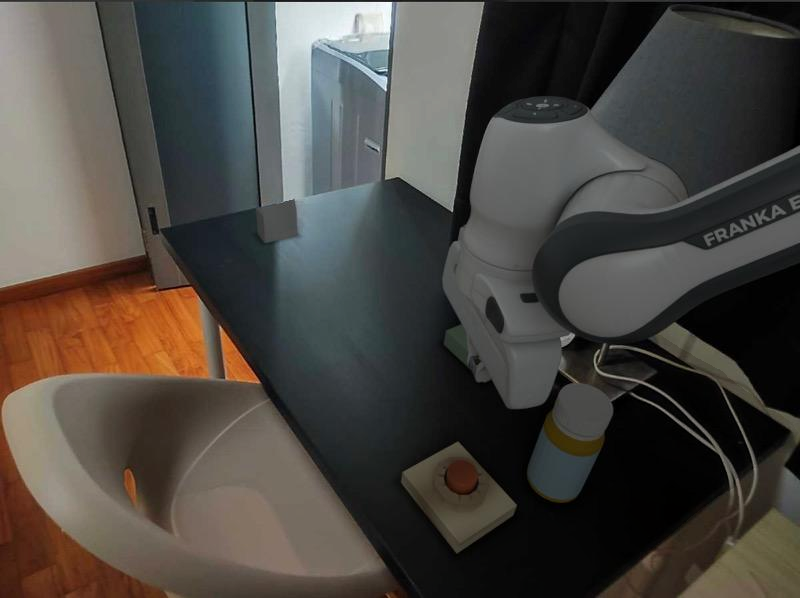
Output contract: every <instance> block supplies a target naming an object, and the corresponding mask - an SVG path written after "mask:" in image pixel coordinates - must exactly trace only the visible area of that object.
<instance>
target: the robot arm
mask: <svg viewBox="0 0 800 598" xmlns="http://www.w3.org/2000/svg"><path fill="white" fill-rule="evenodd" d="M469 191H470V192H469V203H470V215H469V218H468V220H467V223H466V224H464V225H463V226H461V227H460V228H459V233H458V238H457V240H455V241H453V242H452V243H451V245H450V247H449V250H448V251H447V256H446V259H445V264H444V268H443V272H442V279H441V280H442V282H441V283H442V289H443V292H444V294H445V296H446V297H447V300H448V302H449V303H450V305H451V307H452V309H453V311H454V312H455V314H456V316H457V318H458V320H459V321H460V324H462V325H463V327H464V329H465V331H466V333H467V344H468V352H469V354H468V358H467V364H468V366H469V368H470V369H471V370H470V369H469V368H468V369H469V370H470V371H471V373H472V375H473V378H474V380H475V381H476V382H477V383H484V382H485V381H487V382H489V381H492V383H493V385H494V386H495V389H496V391H497V392H498V394H499V396H500V398H501V399H502V401H503V403H504V405H505V407H506V408H507V409H508V410H522V409H529V408H535V407H538V406H541V405H543V404H544V403H546V401H547V400H548V398H549V397H550V395H551V392H552V389H553V386H554V384H555V381H556V378H557V375H558V372H559V368H560V365H561V361H562V354H563V345H562V344H563V343H562V340H561V338H563V337H564V338H565V337H568V336H570V335H571V334H573V335H575V336H577V337H579V338H581V339H584V340H587V341H590V342H594V343H598V344H607V345H626V344H634V343H638V342H643V341H644V340H645V341H646V340H648V339H650V338H652V337H654V336H656V335H658V334H660V333H661V332H663V331H664V330H666V329H667V328H669V327H670V326H672V325H673V324H674V323H675V322H677V321H678V320H680V319H681V318H682V317H683V316H685V315H686V314H688V312H690V311H691V310H693V309H694V308H696V307H697V306H699V305H701V304H702V303H704V302H706V301H708V300H710V299H712V298H714V297H717V296H718V295H720V294H723V293H725V292H728V291H730V290H733V289H735V288H738V287H740V286H743V285H746V284H748V283H750V282H753V281H756V280H759V279H761V278H764V277H766V276H769V275H772V274H775V273H777V272H780V271H782V270H785V269H787V268H790V267H792V266H795V265H799V264H800V145H798V146H796V147H794V148H792V149H790V150H788V151H786V152H784V153H782V154H779V155H777V156H776V157H773V158H771V159H769V160H767V161H765V162H763V163H761V164H760V163H759V164H758V165H756V166H754V167H752V168H750V169H748V170H745V171H743V172H741V173H739V174H737V175H735V176H733V177H731V178H728V179H727V180H724V181H722V182H720V183H717V184H716V185H713V186H711V187H708V188H707V189H705V190H702V191H701V192H699V193H696V194H694V195H692V196H690V195H689V191H688V188H687V186H686V184H685V182H684V181H683V179H682V178H681V177H680V175H679V174H678V173H677V172H676V170H675V169H673V168H672V167H671V166H669V165H668V164H667V163H664V162H663V161H661V160H659V159H657V158H653V157H650V156H646V155H644V154H642V153H640V152H638V151H636V150H635V149H633V148H631V147H630V146H628V145H627V144H624V143H623V142H622V141H620V140H619V139H617V138H616V137H615V136H614V135H612V134H611V133H610V132H609V131H608V130H607V129H606V128H604V127H603V126H602V124H601V123H600V122H599V121H598V120H597V119H596V117H595V116H594V114H593V113H592V110H590V108H589V107H588V106H587V105H585V104H584V103H582V102H580V101H577V100H574V99H570V98H569V97H568V98H567V97H563V96H553V95H545V96H544V95H542V96H541V95H539V96H529V97H527V98H521V99H517V100H515V101H513V102H510V103H509V104H507V105H505V106H504V107H503V108H501V109H499V111H498V112H496V113H495V114H494V115H493V116H492V117H491V119H490V121H489V123H488V124H487V127H486V129H485V132H484V134H483V138H482V141H481V144H480V147H479V151H478V155H477V159H476V162H475V167H474V172H473V175H472V180H471V185H470V190H469ZM490 379H491V380H490ZM485 383H486V382H485Z"/></svg>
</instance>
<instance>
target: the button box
mask: <svg viewBox="0 0 800 598" xmlns="http://www.w3.org/2000/svg"><path fill="white" fill-rule="evenodd" d="M457 460H465V461H468V462H470V463H471V464H473V465H474V466H475V467H476V469H477V471H478V479H477V482H476V486H475V488H474V490H473V491H472V492H470V493H468V494H457V493H455V492H453V491H452V490H451V489H450V488H449V487H448V486H447V483H446V475H447V471H448V467H449V465H450V464H451V463H452V462H454V461H457ZM400 483H401V485H402V486H403V487H404V488H405V490H406V491H407V492H408V493H409V495H410V496H411V497H412V499H413V500H414V501H415V503H416V504H417V505H418V506H419V507H420V509H421V511H422V512H423V513H424V514H425V515H426V516H427V518H428V520H430V522H431V523H432V525H434V527H435V528H436V529H437V531H438V532H439V533H440V534H441V535H442V537H443V538H444V539H445V540H446V542H447V543H448V544H449V546H450V547H451V548H452V550H453V551H454V552H455V553H456V554H459V553H460V552H461V551H463V550H465V549H466V548H467V547H469V546H470V545H472V544H473V543H475V542H476V541H478V540H479V539H481V538H482V537H484V536H485V535H486V534H488V533H489V532H491V531H492V530H494V529H495V528H497V527H498V526H500V525H501V524H503V523H504V522H506V521H507V520H509V519H510V518H512V517H513V516H514V515H515V512H516V510H517V506H518V505H517V504H516V502H515V501H514V500H513V499H512V498H511V497H510V496H509V495H508V494H507V493H506V491H505V490H504V489H503V488H502V487H501V486H500V485H499V484H498V483H497V482H496V481H495V479H494V478H492V476H491V474H489V472H488V471H486V470H485V468H483V467H482V466H481V464H479V462H478V461H477V460H476V459H475V458H474V457H473V456H472V455H471V453H470V452H468V450H467V449H466V448H465V447H464V446H463V445H462V444H461V443H460V441H456V442H454V443H453V444H451V445H449V446H447V447H445V448H443V449H442V450H440V451H438V452H436V453H435V454H433V455H431V456H429V457H427V458H425V459H424V460H422V461H420V462H418V463H417V464H415V465H413V466H411V467H409V468H408V469H406V470H404V471H402V474H401V480H400Z"/></svg>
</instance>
